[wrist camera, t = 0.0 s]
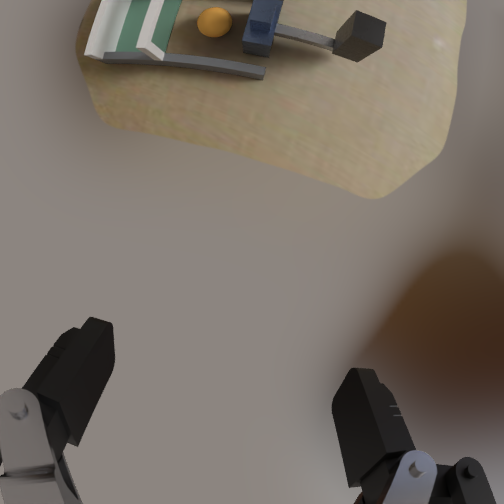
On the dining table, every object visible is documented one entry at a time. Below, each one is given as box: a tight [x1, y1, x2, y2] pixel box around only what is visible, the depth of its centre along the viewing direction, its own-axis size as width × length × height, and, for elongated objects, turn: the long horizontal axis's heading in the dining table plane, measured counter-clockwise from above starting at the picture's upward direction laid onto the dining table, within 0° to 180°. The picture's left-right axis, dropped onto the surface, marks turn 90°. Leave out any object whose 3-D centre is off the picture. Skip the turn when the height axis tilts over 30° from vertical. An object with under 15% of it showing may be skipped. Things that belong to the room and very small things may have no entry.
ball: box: [197, 7, 232, 37], centre depth 27 cm, size 4×4×4 cm
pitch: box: [84, 0, 284, 80], centre depth 24 cm, size 12×20×9 cm, turn 77°
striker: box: [242, 0, 386, 62], centre depth 24 cm, size 6×12×11 cm, turn 77°
